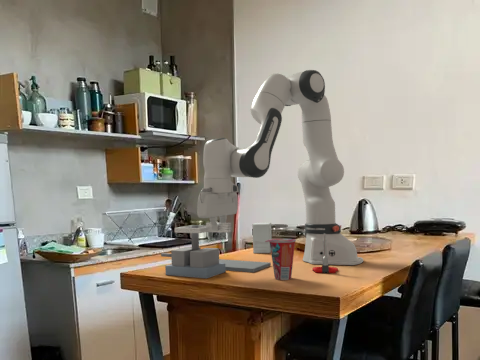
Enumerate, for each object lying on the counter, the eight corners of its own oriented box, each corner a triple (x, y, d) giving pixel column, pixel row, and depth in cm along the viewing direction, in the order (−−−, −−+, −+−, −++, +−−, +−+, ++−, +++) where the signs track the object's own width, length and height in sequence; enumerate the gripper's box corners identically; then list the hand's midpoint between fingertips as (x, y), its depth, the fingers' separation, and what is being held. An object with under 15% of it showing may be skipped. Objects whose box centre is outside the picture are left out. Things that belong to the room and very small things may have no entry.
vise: (225, 272, 160) (224, 224, 161) (206, 278, 150) (205, 227, 150) (172, 267, 171) (171, 223, 171) (151, 273, 160) (150, 226, 160)
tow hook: (312, 269, 165) (312, 273, 155) (311, 232, 165) (311, 233, 156) (337, 270, 163) (338, 273, 154) (336, 232, 164) (337, 233, 155)
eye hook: (174, 232, 157) (174, 223, 157) (191, 229, 166) (191, 220, 166) (221, 233, 149) (221, 224, 149) (236, 230, 157) (236, 221, 157)
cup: (280, 274, 154) (280, 237, 154) (302, 278, 148) (301, 239, 148) (261, 279, 147) (261, 240, 147) (283, 282, 141) (282, 242, 141)
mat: (270, 265, 171) (270, 262, 171) (253, 272, 159) (253, 268, 159) (218, 262, 182) (218, 259, 182) (198, 268, 169) (198, 264, 169)
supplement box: (272, 251, 210) (271, 222, 210) (269, 253, 202) (269, 223, 203) (256, 250, 211) (255, 222, 212) (252, 253, 204) (252, 223, 204)
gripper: (208, 188, 144) (210, 233, 144) (240, 186, 162) (241, 227, 162) (191, 188, 147) (192, 233, 147) (224, 187, 165) (225, 227, 165)
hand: (218, 230), depth 155 cm, fingers closed on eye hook, 2 cm apart
